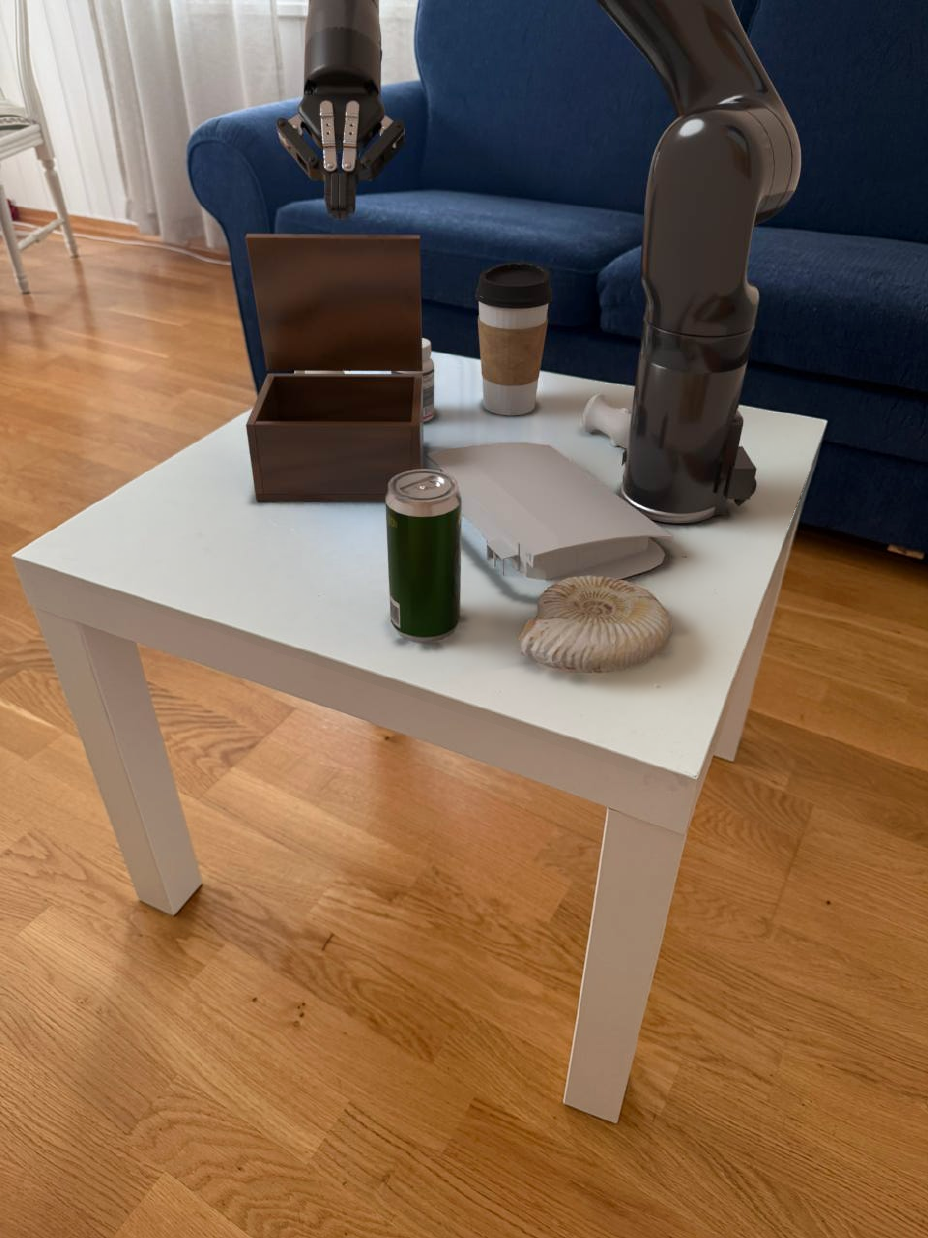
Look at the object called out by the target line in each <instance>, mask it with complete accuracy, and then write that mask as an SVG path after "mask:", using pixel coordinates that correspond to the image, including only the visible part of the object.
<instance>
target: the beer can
mask: <svg viewBox="0 0 928 1238" xmlns="http://www.w3.org/2000/svg"><path fill="white" fill-rule="evenodd" d="M384 503H385V524H386V525H385V526H386V545H387V546H386V547H387V549H386V550H387V565H388V566H387V568H388V569H387V570H388V571H387V572H388V592H389V594H388V595H389V614H390V615H389V616H390V617H389V618H390V623H391V625H392V626H393V628H394V630H395V631H396V633H397V634H398V635H399V636H400V637H402V638H403V639H404V640H407V641H409V642H412V643H418V644H430V643H432V644H433V643H436V642H441V641H443V640H445V639H447V638H449V637H450V636H451V635H452V634H453V633H454V632H455V631H456V629H457V627H458V626H459V623H460V620H461V597H462V596H461V593H462V591H461V590H462V589H461V588H462V585H461V584H462V516H463V515H462V498H461V494H460V492H459V486H458V482H457V480H456V479H455V478H454V477H453V476H451V475H449V474H447V473H445V472H441V471H439V470H437V469H428V468H423V469H418V470H411V471H405V472H403V473H400V474H398V475H396V476H394V477H393V478H392V479H391V480H390V481H389V483H388V492H387V494H386V496H385V502H384Z"/></svg>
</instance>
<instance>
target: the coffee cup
mask: <svg viewBox="0 0 928 1238" xmlns="http://www.w3.org/2000/svg"><path fill="white" fill-rule="evenodd" d="M474 298H475V300H477V301H478V313H479V314H478V316H477V328H478V340H479V341H478V343H479V354H480V355H479V356H480V367H481V378H482V397H483V407H484V408H485V410H487V411H488V412H490V413H492V414H496V415H499V416H511V417H512V416H521V415H526V414H528V413H530V412H532V411H533V410H534V409H535V407H536V406H535V405H536V400H537V392H538V391H537V390H538V385H539V378H540V372H541V367H542V361H543V355H544V348H545V342H546V337H547V329H548V324H549V323H548V322H549V318H548V309H549V304H550V303H552V301H553V299H554V297H553V289H552V288H551V273H550V270H549V269H548V268H546V267H545V266H542V265H539V264H536V263H530V262H505V263H500V264H497V265H494V266H491V267H489V268H486V269H485V270H483V271H482V272H481V273H480V275H479V279H478V284H477V286H476V288H475V295H474Z"/></svg>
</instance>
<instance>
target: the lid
mask: <svg viewBox="0 0 928 1238" xmlns="http://www.w3.org/2000/svg"><path fill="white" fill-rule="evenodd" d="M245 241H246V249H247V255H248V260H249V265H250V266H249V267H250V273H251V274H250V275H251V279H252V286H253V292H254V299H255V305H256V311H257V318H258V324H259V330H260V337H261V343H262V349H263V356H264V362H265V369H266V371H268V372H271V371H273V372H276V371H277V372H278V371H279V372H280V371H281V372H295V371H344V372H391V371H423V360H422V338H423V322H422V321H423V318H422V316H423V315H422V312H423V311H422V273H421V272H422V270H421V269H422V267H421V266H422V265H421V235H419V234H323V233H322V234H321V233H320V234H319V233H318V234H312V233H310V234H308V233H307V234H306V233H303V234H302V233H301V234H298V233H247V234H246V235H245Z"/></svg>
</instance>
